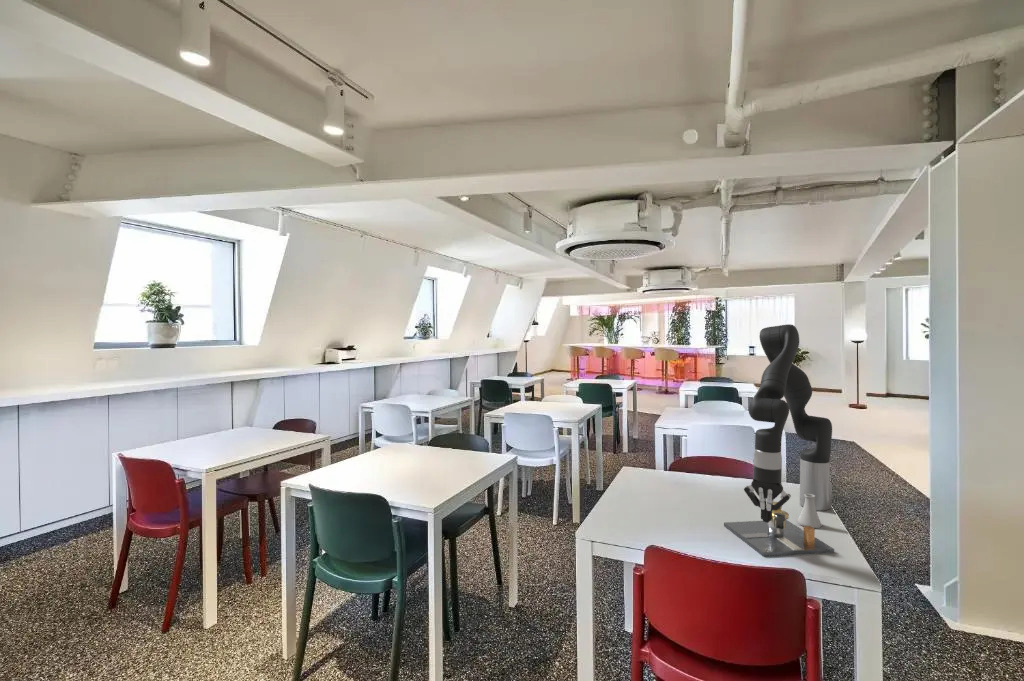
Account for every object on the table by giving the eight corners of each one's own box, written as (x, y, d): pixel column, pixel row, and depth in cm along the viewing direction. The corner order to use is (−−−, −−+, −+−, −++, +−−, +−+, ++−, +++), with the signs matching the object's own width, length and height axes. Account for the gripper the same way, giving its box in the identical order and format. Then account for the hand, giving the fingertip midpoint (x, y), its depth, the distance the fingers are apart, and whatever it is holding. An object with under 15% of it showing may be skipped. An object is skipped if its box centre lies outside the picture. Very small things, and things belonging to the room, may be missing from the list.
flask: (821, 530, 162) (822, 500, 162) (796, 526, 166) (796, 496, 166) (822, 523, 168) (822, 494, 168) (797, 518, 172) (797, 490, 172)
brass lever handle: (762, 510, 161) (762, 497, 161) (787, 513, 158) (787, 500, 158) (766, 528, 147) (766, 514, 146) (793, 532, 144) (793, 518, 144)
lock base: (785, 523, 169) (786, 502, 168) (834, 552, 147) (834, 529, 146) (723, 526, 166) (724, 505, 166) (763, 556, 144) (763, 533, 144)
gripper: (795, 465, 148) (793, 523, 149) (747, 457, 156) (746, 512, 157) (790, 472, 142) (788, 531, 143) (740, 463, 150) (739, 519, 151)
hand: (766, 521), depth 150 cm, fingers closed
